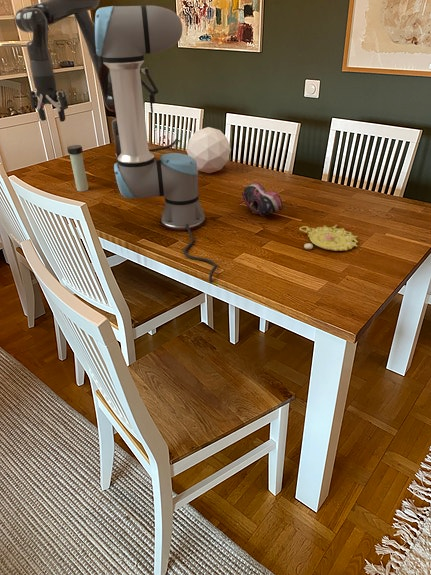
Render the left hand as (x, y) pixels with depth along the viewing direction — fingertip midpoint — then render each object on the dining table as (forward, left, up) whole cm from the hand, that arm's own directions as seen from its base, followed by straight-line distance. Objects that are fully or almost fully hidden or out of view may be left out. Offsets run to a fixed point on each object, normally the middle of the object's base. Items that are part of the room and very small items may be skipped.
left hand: (53, 120), depth 168 cm
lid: (-6, +3, -11) cm, 13 cm away
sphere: (-42, +47, -29) cm, 69 cm away
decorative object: (+13, +108, -29) cm, 112 cm away
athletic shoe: (-3, +80, -29) cm, 85 cm away
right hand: (-23, +23, -1) cm, 33 cm away
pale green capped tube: (-6, +3, -29) cm, 30 cm away
